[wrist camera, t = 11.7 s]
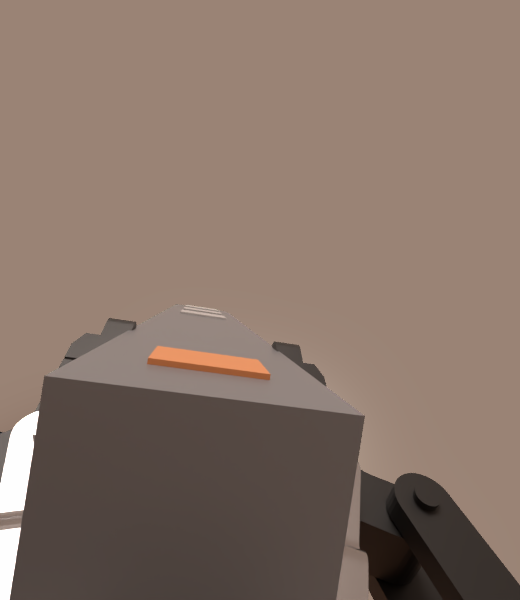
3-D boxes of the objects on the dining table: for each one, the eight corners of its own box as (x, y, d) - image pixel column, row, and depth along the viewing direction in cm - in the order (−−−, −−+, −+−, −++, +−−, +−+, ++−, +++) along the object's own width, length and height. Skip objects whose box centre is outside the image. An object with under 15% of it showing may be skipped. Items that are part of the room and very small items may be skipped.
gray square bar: (317, 720, 6) (365, 408, 6) (-8, 710, 5) (45, 367, 5) (219, 361, 36) (227, 310, 36) (168, 354, 35) (176, 303, 35)
